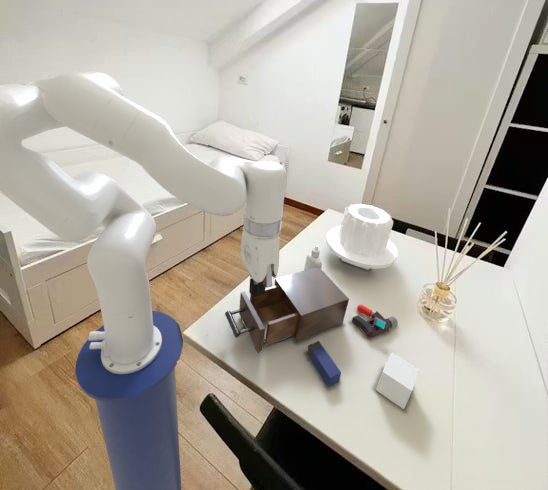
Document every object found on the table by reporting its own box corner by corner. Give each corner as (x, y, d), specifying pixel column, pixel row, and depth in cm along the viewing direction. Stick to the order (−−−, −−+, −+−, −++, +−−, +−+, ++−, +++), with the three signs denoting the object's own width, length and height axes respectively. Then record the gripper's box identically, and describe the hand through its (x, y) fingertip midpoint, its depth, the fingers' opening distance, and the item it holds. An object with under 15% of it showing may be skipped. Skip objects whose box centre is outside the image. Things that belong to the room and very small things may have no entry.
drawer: (238, 360, 65) (239, 337, 62) (221, 319, 75) (221, 297, 72) (306, 334, 73) (310, 312, 71) (283, 299, 83) (286, 279, 81)
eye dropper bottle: (305, 282, 92) (311, 251, 87) (303, 271, 97) (308, 241, 93) (319, 283, 93) (325, 252, 88) (315, 271, 98) (321, 241, 93)
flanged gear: (395, 252, 113) (409, 209, 106) (389, 292, 92) (406, 242, 84) (333, 232, 122) (341, 191, 115) (314, 264, 101) (323, 217, 93)
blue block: (338, 381, 64) (341, 372, 63) (327, 387, 63) (330, 378, 61) (316, 349, 71) (318, 340, 70) (306, 353, 69) (308, 344, 68)
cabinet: (296, 342, 72) (301, 315, 68) (271, 303, 83) (275, 278, 79) (342, 324, 78) (349, 298, 75) (314, 290, 89) (318, 266, 86)
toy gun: (400, 327, 79) (405, 314, 78) (368, 342, 74) (372, 329, 72) (374, 302, 87) (378, 290, 85) (343, 314, 82) (347, 301, 80)
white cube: (384, 369, 68) (391, 351, 65) (411, 387, 64) (419, 369, 62) (375, 389, 63) (382, 371, 61) (403, 409, 60) (412, 391, 58)
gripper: (232, 208, 63) (230, 276, 70) (260, 246, 51) (254, 323, 58) (264, 204, 66) (258, 269, 73) (297, 238, 54) (287, 312, 61)
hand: (257, 293), depth 66 cm, fingers closed
